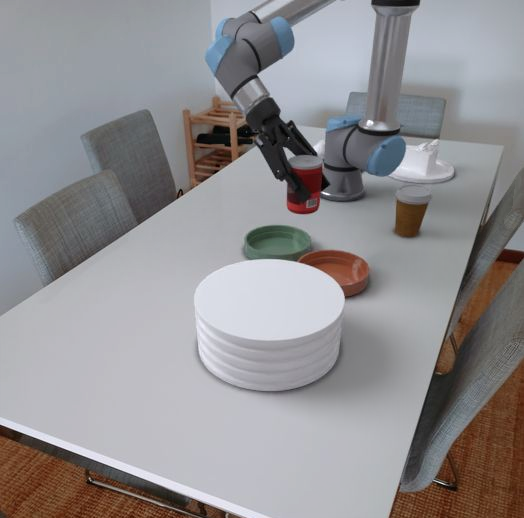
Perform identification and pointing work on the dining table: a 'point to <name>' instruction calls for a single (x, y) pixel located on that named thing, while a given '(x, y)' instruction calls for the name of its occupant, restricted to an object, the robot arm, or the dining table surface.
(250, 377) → the plate stack
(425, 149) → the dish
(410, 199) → the disposable coffee cup
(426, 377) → the dining table surface
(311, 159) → the canned food
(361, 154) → the robot arm
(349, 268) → the terracotta bowl
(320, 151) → the roll
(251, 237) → the sage bowl
